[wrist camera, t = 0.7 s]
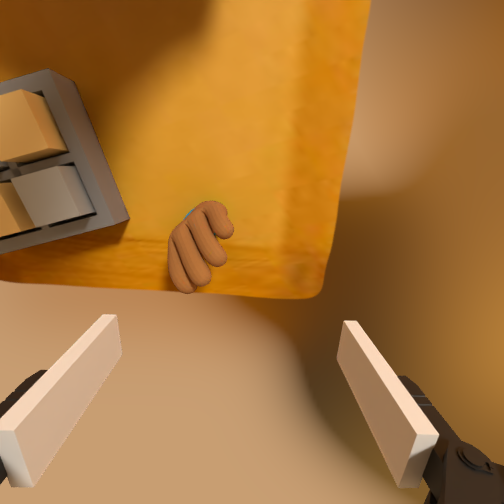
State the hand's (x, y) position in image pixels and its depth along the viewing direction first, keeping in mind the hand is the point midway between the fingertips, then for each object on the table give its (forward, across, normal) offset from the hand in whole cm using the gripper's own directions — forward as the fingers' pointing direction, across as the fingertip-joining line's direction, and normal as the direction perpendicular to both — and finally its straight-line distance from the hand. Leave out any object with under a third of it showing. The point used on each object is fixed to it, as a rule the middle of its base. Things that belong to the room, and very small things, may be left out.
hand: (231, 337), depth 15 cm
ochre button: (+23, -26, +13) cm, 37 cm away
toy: (+26, -6, 0) cm, 27 cm away
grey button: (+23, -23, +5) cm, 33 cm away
